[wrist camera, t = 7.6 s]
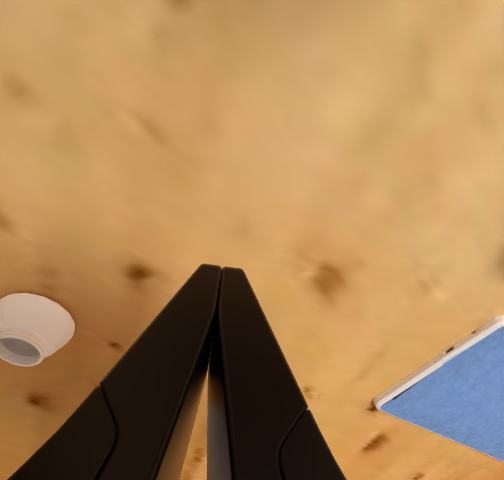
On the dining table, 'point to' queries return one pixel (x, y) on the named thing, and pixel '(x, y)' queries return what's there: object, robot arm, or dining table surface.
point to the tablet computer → (457, 392)
